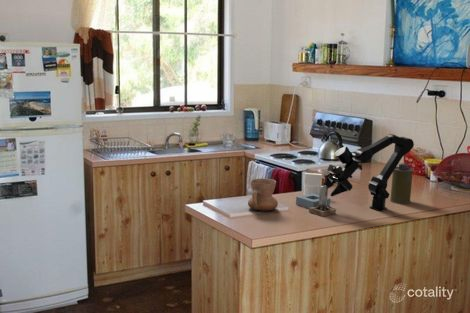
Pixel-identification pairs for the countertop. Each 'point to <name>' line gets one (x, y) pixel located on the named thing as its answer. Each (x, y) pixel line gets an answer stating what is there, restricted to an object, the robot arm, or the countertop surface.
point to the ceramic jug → (263, 194)
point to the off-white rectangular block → (312, 183)
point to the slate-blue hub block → (309, 200)
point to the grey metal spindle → (323, 198)
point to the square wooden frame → (322, 213)
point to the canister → (401, 184)
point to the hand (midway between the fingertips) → (326, 193)
